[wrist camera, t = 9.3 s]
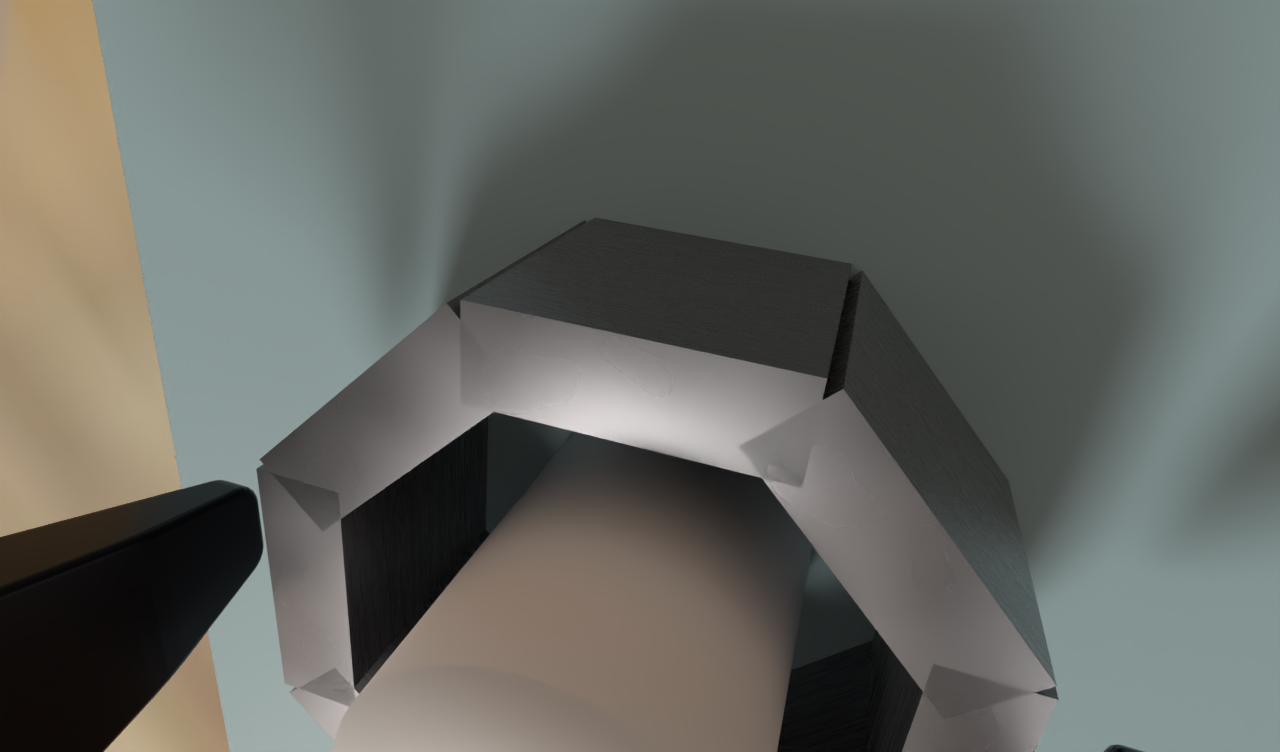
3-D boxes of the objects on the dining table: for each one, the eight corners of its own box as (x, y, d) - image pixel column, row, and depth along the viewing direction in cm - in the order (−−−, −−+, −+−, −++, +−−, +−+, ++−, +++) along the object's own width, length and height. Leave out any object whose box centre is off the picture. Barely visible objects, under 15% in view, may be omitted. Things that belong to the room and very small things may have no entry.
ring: (898, 795, 11) (896, 1048, 8) (430, 643, 12) (302, 811, 10) (1078, 304, 7) (1173, 452, 5) (421, 186, 9) (228, 250, 6)
